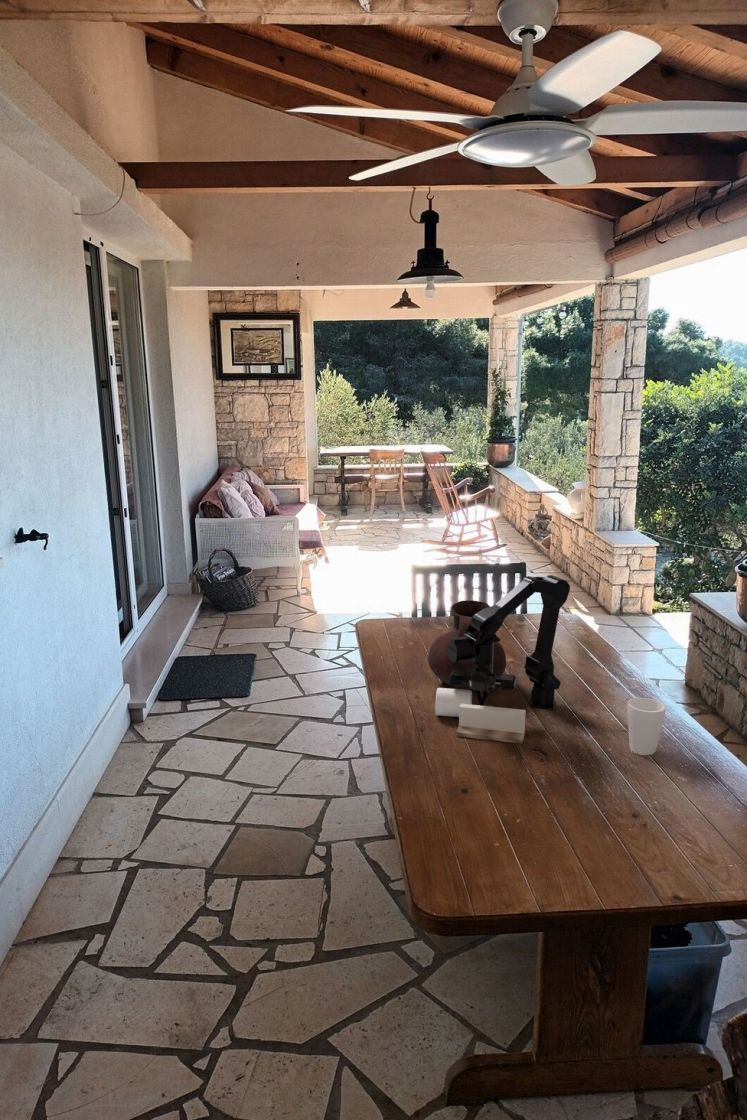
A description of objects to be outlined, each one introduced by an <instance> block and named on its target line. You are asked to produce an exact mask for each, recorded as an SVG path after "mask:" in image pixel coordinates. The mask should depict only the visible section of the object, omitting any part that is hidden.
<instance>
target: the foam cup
mask: <svg viewBox="0 0 747 1120" xmlns="http://www.w3.org/2000/svg"><path fill="white" fill-rule="evenodd" d="M666 709H667V708H666V705H665V703H662V702H661V701H659V700H656V699H653V698H648V697H634V698H631V699H630V698H629V700H628V701H627V703H626V712H627V722H628V740H629V742H628V743H629V750H630V749H631V750H630V751H631V752H632V751H633V752H634V753H633V752H632V753H633V754H635V753H638V754H641V755H649V754H653V753H654V752H655V753H656V751H657V746H658V742H659V739H660V734H661V730H662V726H663V722H664V718H665V716H666ZM641 755H640V756H641Z"/></svg>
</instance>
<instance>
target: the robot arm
mask: <svg viewBox="0 0 747 1120" xmlns="http://www.w3.org/2000/svg"><path fill="white" fill-rule="evenodd" d="M570 592H571V585H570V583H569V582H568V581H567V580H566V579H564V578H560V577H558V576H556V575H553V574H549V575H547V576H545V577H543V576H530V575H529V576H525V577H523V579H522V580H521V581H520V582H519V583H518V584H517V585H516V586H515V587H514V588H512V589H511V590H510V591H509V592H507V593H506V594H505V595H504V596H503V597H501V598H500V600H498V601H497V602H495V603H494V604H493V605H491V606H490V607H488V608H485V609H483V610H481V611H479V612H478V613H476V614H475V615H474V616H473V617H472V618H471V622H470V624H469V625H468V627H467V628H466V630H465V632H464V633H463V635H464V636H465V637H454V638H451V642H450V643H449V645H448V647H447V652H448V656H449V659H450V660H451V661H452V662H457V661H464V660H470V659H472V658H473V669H472V672H471V675H465V671H463V670H453V671H452V672H451V674H450V677H449V684H450V685H456V686H460V685H461V684H462V683H463V681H467V682H469V683H470V686H469V689H468V690H472V692H474V694H475V695H476V696H475V697H476V698H477V701H478V705H480V706H485V703H486V700H487V698H488V695H489V694H490V692H494V691H495V688H496V685H500V688H501V689H502V690H503V691H515V688H516V685H517V684H516V683H517V682H516V681H517V677H516V676H515V674H510V673H508V674H507V673H503V674H502V676H501V677H500V678H498V677H496V674H495V673H493V647H494V642H501V638H500V637H498V636H497V634H496V633H498V631H499V630H500V629H501V628H502V627H503V623H504V622H505V620H506V618H507V617H508V616H509V615H511V614H512V613H513V612H514V611H515V610H516V609H518V607H520V606H521V605H522V604H523V603H524V602H525V601H527V600H528V599H529V598H530V597H532V596H533V595H534V594H535V593H539V594H540V597H541V598H540V599H541V601H542V611H541V615H540V621H539V627H538V633H537V638H536V642H535V643H536V644H535V648H534V652H532V654H531V655H526V657H525V663H524V665H523V669H525V670H524V671H525V675H527V677H528V678H529V681H530V682H532V683H533V686H531V690H530V703H531V707H532V708H540V709H551V710H553V709H554V710H555V700H556V699H555V693H556V692H555V691H556V690H559V689H560V687H561V683H562V682H561V681H560V680H559V679H558V678H557V677H556V676H555V664H554V660H553V658H552V653H553V648H554V647H553V646H554V642H555V637H556V631H557V626H558V620H559V617H560V616H559V615H560V611H561V608H562V607H563V606H564V604H566V602H567V600H568V597H569V595H570ZM475 631H476V632H478V633H479V634H480V635H479V636H478V635H477V634H475V633H473V632H475ZM450 685H449V686H450Z"/></svg>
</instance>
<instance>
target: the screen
mask: <svg viewBox="0 0 747 1120" xmlns="http://www.w3.org/2000/svg"><path fill="white" fill-rule="evenodd" d="M526 713H527V711H526V709H517V708H507V707H499V706H498V707H497V706H489V705H484V706H480V705H479V704H478V705H477V704H472V705H471V704H460V707H459V717H458V727H457V731H456V737H460V738H470V739H477V740H478V739H479V740H487V741H495V742H496V741H497V742H504V743H513V744H521V745H522V744H524V739H525V734H526V733H525V732H526Z"/></svg>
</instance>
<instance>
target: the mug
mask: <svg viewBox="0 0 747 1120" xmlns="http://www.w3.org/2000/svg"><path fill="white" fill-rule="evenodd" d="M435 693H436V694H435V709H434V710H435V715H436V716H441V717H454V718H459V707H460V704H471V705H473V690H472V689H460V688H445V687H438V688H437V689H436V692H435Z"/></svg>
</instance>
